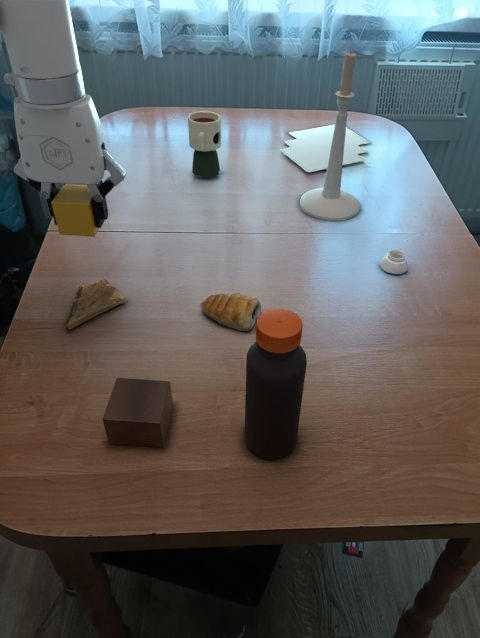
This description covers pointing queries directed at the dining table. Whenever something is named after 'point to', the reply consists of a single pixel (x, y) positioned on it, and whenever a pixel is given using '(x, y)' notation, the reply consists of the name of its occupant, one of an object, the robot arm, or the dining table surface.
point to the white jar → (394, 262)
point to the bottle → (274, 384)
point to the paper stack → (321, 147)
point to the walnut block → (138, 412)
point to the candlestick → (335, 162)
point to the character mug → (205, 142)
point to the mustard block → (74, 211)
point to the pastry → (233, 310)
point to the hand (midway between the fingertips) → (81, 220)
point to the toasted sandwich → (93, 302)
